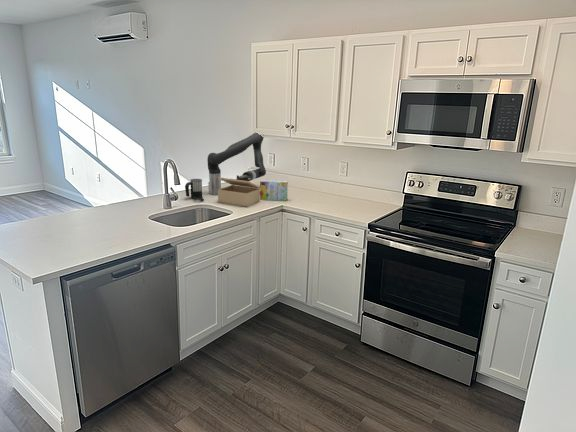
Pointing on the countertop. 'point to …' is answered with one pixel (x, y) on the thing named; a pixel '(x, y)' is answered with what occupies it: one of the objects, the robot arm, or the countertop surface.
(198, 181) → the milk frother
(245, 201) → the carton
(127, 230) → the countertop surface
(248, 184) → the carton lid
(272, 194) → the snack box
